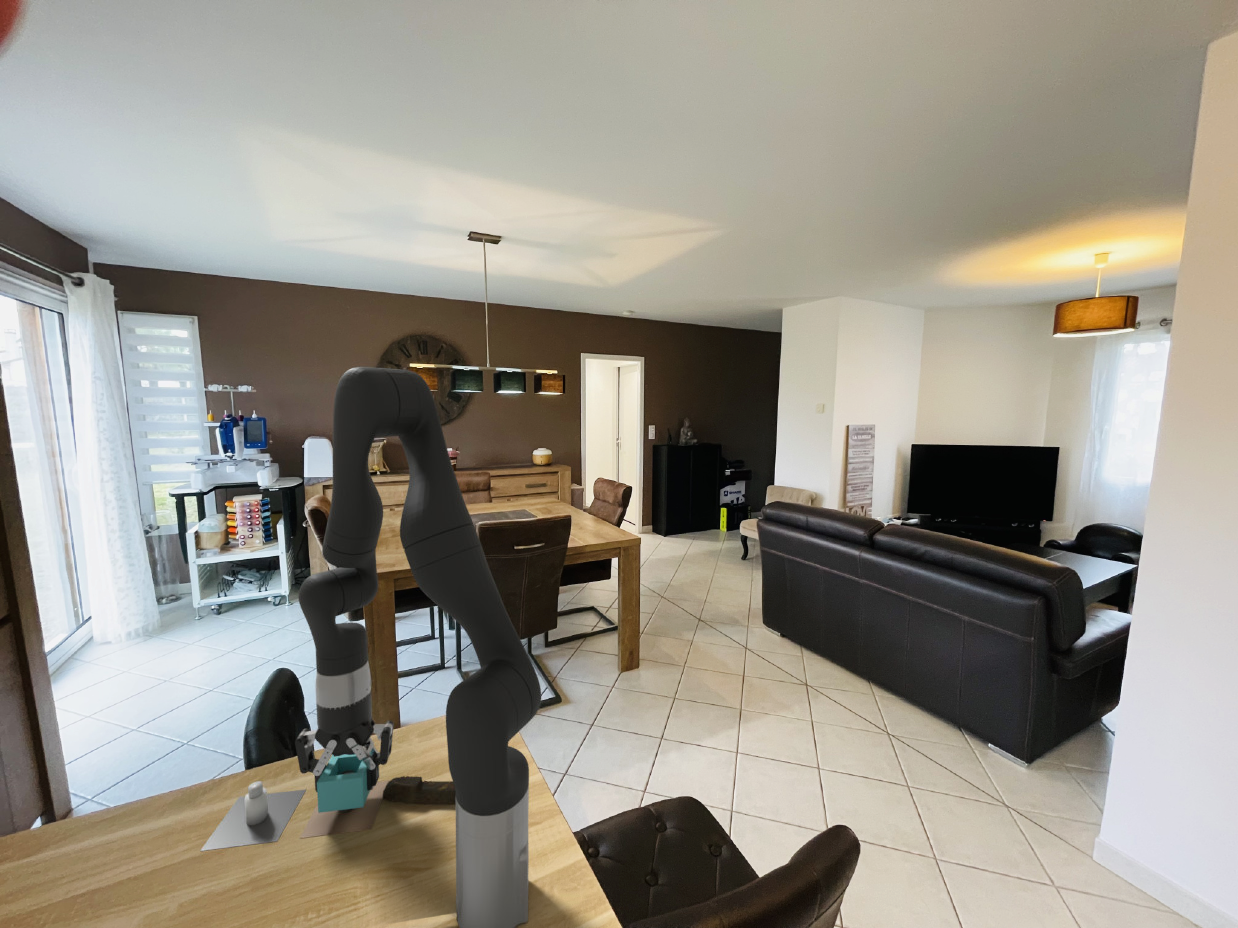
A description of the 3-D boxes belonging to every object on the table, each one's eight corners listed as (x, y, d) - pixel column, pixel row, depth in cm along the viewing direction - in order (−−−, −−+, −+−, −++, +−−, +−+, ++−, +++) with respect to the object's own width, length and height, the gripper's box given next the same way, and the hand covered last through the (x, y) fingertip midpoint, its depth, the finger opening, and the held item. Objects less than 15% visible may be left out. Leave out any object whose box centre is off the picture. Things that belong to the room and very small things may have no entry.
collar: (375, 776, 82) (374, 749, 81) (363, 806, 76) (362, 777, 75) (334, 781, 81) (333, 753, 80) (318, 812, 75) (316, 782, 74)
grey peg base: (306, 794, 82) (305, 759, 81) (277, 846, 72) (275, 807, 72) (239, 802, 80) (237, 765, 79) (200, 856, 70) (197, 816, 70)
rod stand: (389, 785, 85) (388, 750, 84) (371, 834, 75) (370, 796, 74) (326, 792, 83) (324, 757, 82) (299, 844, 73) (297, 804, 72)
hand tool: (500, 795, 84) (500, 770, 83) (494, 814, 80) (494, 788, 79) (391, 791, 84) (390, 767, 83) (379, 811, 80) (378, 785, 79)
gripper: (281, 710, 71) (287, 814, 73) (386, 701, 74) (389, 801, 76) (304, 682, 79) (309, 777, 80) (398, 674, 81) (401, 767, 83)
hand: (348, 788), depth 78 cm, fingers closed on collar, 6 cm apart
